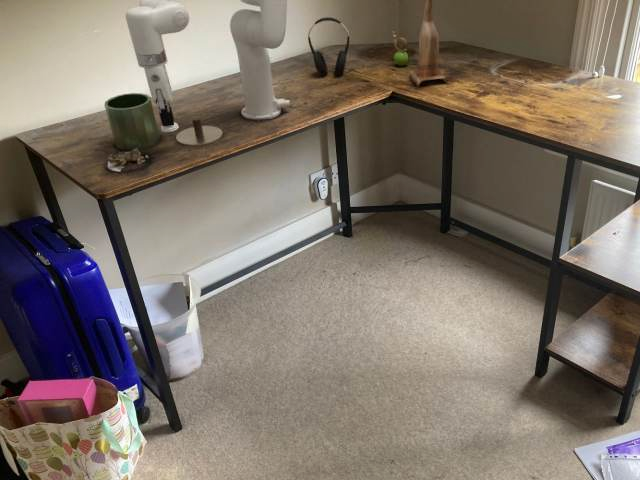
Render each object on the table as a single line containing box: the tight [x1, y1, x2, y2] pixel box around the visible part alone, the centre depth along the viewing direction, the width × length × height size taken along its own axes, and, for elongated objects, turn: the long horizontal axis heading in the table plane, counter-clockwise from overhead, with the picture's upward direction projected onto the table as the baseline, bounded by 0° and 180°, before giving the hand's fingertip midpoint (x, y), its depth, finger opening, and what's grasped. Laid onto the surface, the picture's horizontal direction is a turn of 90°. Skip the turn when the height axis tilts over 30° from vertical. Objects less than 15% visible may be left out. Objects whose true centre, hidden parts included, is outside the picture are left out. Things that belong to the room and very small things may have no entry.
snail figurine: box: [391, 30, 409, 67], centre depth 242 cm, size 5×6×12 cm
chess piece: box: [160, 100, 179, 133], centre depth 180 cm, size 5×5×10 cm
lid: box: [175, 117, 224, 147], centre depth 193 cm, size 14×14×6 cm
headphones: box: [307, 16, 350, 76], centre depth 232 cm, size 9×15×20 cm, turn 91°
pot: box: [103, 92, 161, 151], centre depth 190 cm, size 13×13×12 cm
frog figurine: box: [107, 148, 149, 173], centre depth 181 cm, size 12×12×4 cm
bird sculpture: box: [408, 0, 449, 87], centre depth 222 cm, size 11×12×32 cm
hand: (168, 122), depth 182 cm, fingers closed on chess piece
